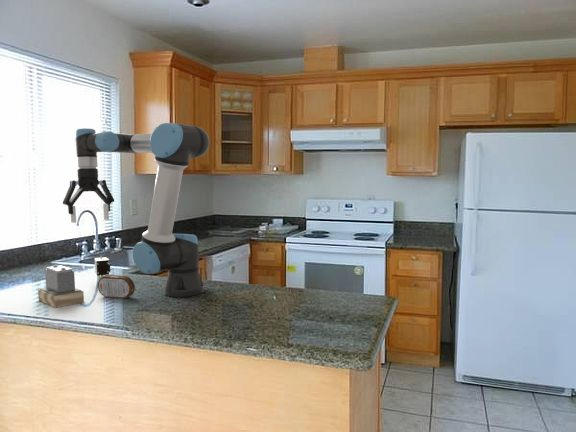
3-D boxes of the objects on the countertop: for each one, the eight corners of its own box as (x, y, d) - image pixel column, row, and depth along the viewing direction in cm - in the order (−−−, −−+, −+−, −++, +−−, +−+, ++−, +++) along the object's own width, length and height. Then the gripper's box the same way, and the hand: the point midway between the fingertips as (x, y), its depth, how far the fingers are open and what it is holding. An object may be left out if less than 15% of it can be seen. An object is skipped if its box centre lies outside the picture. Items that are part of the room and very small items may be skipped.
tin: (135, 297, 181) (134, 275, 181) (130, 299, 178) (129, 277, 178) (102, 295, 186) (101, 274, 185) (96, 297, 183) (95, 275, 182)
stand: (83, 301, 176) (83, 290, 176) (55, 307, 169) (54, 295, 169) (66, 295, 187) (65, 284, 187) (38, 300, 180) (38, 288, 180)
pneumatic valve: (98, 287, 200) (96, 258, 199) (95, 282, 210) (94, 255, 209) (112, 285, 202) (110, 257, 201) (108, 280, 213) (107, 254, 212)
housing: (62, 285, 184) (61, 263, 183) (75, 290, 176) (73, 267, 175) (46, 288, 180) (44, 265, 179) (58, 293, 171) (56, 269, 171)
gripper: (111, 168, 204) (114, 218, 205) (51, 168, 185) (54, 223, 187) (121, 167, 199) (123, 218, 200) (59, 167, 180) (63, 224, 182)
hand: (90, 221), depth 194 cm, fingers open, 13 cm apart
